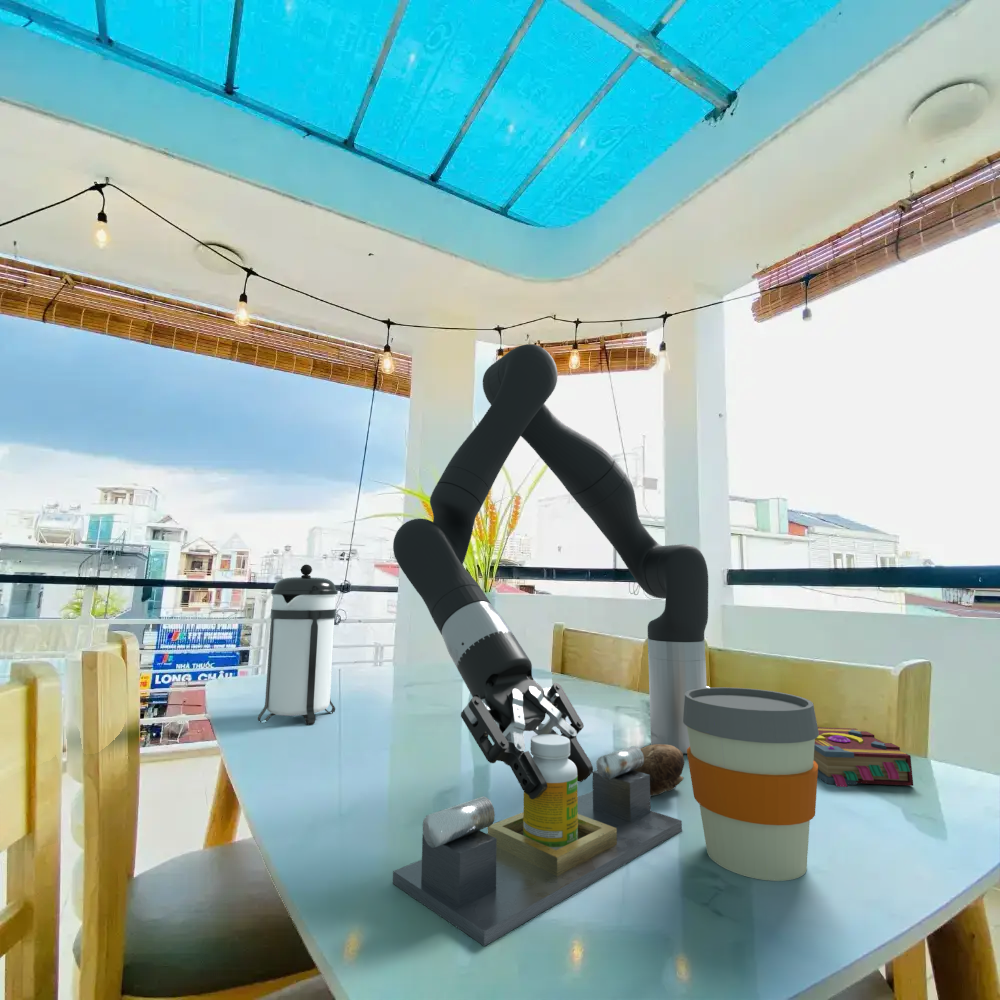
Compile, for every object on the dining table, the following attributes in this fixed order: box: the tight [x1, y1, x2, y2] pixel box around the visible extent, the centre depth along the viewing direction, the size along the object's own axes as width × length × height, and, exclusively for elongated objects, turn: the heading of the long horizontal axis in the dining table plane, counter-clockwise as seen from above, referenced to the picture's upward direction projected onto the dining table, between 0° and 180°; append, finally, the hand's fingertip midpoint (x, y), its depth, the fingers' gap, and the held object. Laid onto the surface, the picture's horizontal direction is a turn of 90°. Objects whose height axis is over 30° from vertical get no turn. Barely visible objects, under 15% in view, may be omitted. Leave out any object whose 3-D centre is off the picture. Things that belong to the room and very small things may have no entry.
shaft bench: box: [392, 745, 683, 947], centre depth 56 cm, size 30×12×7 cm, turn 134°
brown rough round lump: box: [634, 744, 686, 797], centre depth 73 cm, size 8×8×6 cm
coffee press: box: [257, 564, 339, 726], centre depth 115 cm, size 17×16×30 cm
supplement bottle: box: [522, 734, 579, 850], centre depth 57 cm, size 5×5×10 cm
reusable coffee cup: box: [683, 686, 819, 882], centre depth 56 cm, size 12×13×15 cm
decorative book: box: [814, 727, 914, 788], centre depth 83 cm, size 11×16×5 cm
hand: (564, 784), depth 55 cm, fingers open, 6 cm apart
